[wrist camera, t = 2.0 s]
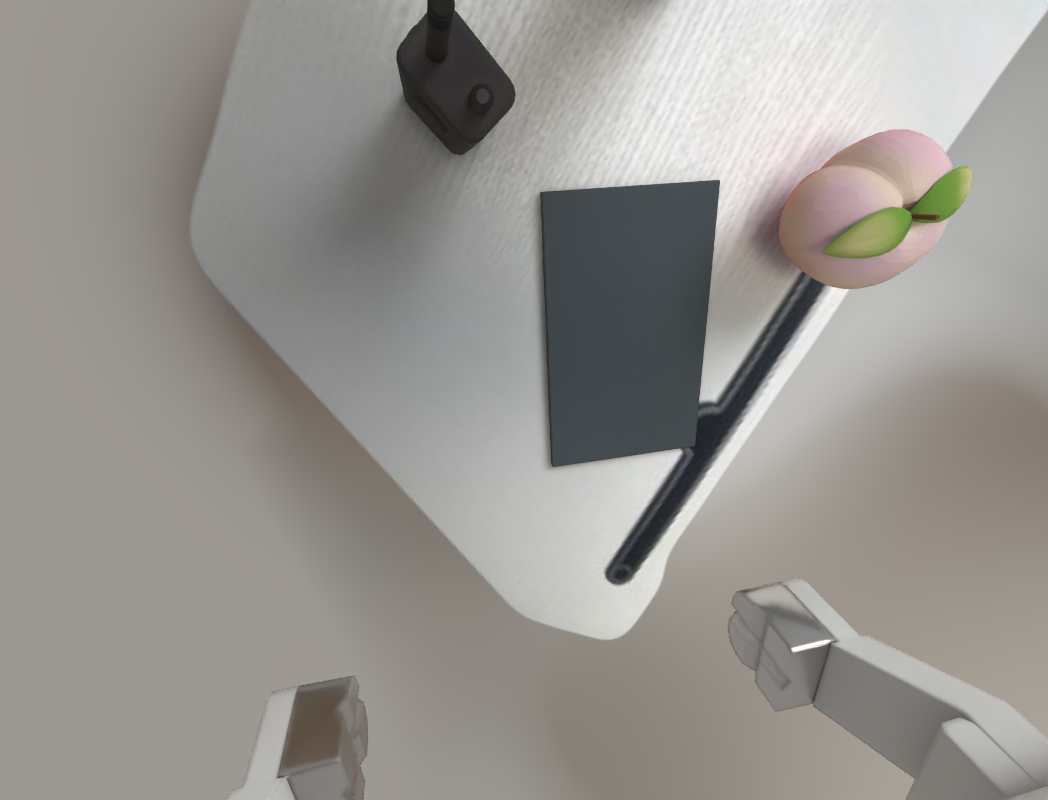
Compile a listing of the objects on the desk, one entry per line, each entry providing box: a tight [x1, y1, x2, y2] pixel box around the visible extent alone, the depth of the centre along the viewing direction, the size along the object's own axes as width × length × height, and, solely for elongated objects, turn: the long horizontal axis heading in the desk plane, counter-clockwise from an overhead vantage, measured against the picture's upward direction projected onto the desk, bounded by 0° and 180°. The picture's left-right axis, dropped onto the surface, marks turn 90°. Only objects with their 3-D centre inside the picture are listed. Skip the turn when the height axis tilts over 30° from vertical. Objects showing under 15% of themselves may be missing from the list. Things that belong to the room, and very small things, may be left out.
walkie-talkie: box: [396, 0, 515, 155], centre depth 22 cm, size 5×3×15 cm
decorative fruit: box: [779, 130, 973, 289], centre depth 30 cm, size 9×8×10 cm
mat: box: [541, 180, 720, 467], centre depth 36 cm, size 20×12×1 cm, turn 4°
